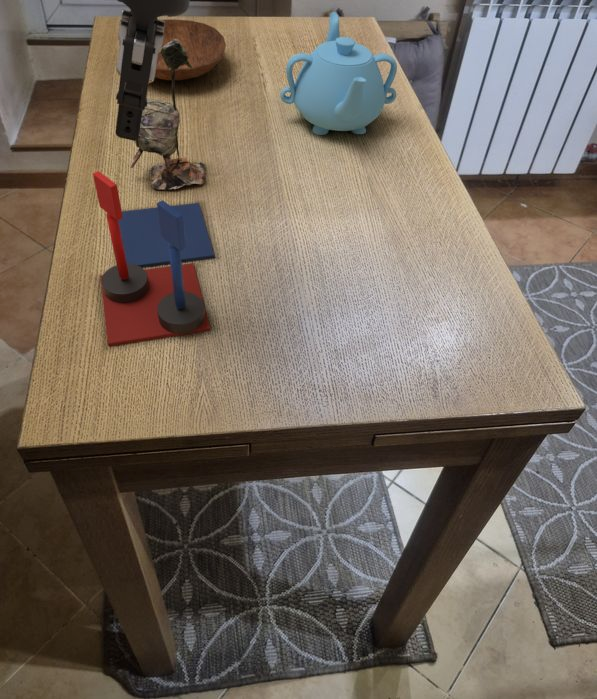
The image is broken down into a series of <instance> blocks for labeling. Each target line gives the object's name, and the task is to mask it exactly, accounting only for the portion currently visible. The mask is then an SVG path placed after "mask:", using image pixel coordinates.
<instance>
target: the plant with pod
mask: <svg viewBox="0 0 597 699" xmlns="http://www.w3.org/2000/svg"><path fill="white" fill-rule="evenodd" d="M160 52H161V55H162V57H163V58H164V61H165V63H166V65H167V66H168V68H171V80H170V81H171V99H172V103H171V102H167V101H164V100H158V99H153V98H150V97H146V98H147V107H145V109H144V110H143V112H142V119H141V125H140V132H139V138H138V139H137V140H136V141H134V143H135V146H136V148H138V150H137V151H136V153H135V155H134V156H133V160H132V162H131V163H130V166H129V167H130V169H133V168H134V167H135V165H136V164H137V162H138V161H139V159H140V157H141V156H142V155H143V152H146V153H148V154H149V153H150V154H152V153H153V154H157V155H160V156H161V157H162V158H163V160H164V161H163V163H157V164H155V165H153V166H152V165H151V167H150V169H149V172H150V177H151V179H150V184H151V185H150V186H151V188H153V189H155V190H159V191H160V190H163V191H164V190H173V189H174V190H176V189H177V190H178V189H180V188H182V187H184V186H191V185H193V184H197V185H203V184H204V183H205V180H206V177H205V176H206V175H207V174H208V173H207V172H205V171H206V169H205V167H206V164H205V163H203V162H201V161H200V162H193V163H192V162H190V161H189V160H188V158H187V157H186V156H185V157H180V151H179V150H180V149H179V140H178V138H179V136H178V133H179V126H180V124H181V120H180V119H181V118H180V111H179V109H178V107H177V102H176V91H175V90H176V89H175V88H176V87H175V83H176V80H175V70H176V69H178V68H179V67H180V66H183V64H185V65H187V66H188V67H189V68H192V66H191V65H190V63H189V62H188V59H189V57H188V54H187V52H186V50H185V49H184V48H183V45H182V44H181V43H180V42H179V40H177V39H174V40H173V41H171V42H169V43H167V44H165V45H164V46H163V47H162V48H161V51H160ZM175 153H176V154H177V158H171V156H172V155H174V154H175Z"/></svg>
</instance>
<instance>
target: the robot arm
mask: <svg viewBox="0 0 597 699" xmlns="http://www.w3.org/2000/svg"><path fill="white" fill-rule="evenodd" d="M116 1H117V2H119V3H122V4H124V5H125V6H126V7H127V8H128V9H125V8H122V9H121V16H120V19H119V26H118V31H117V32H118V33H117V39H118V42H120V46H119V45H118V46H119V48H118V52H117V61H116V72H117V74H118V75H119V83H118V90H117V93H116V95H115V100H117V102H116V104H117V105H118V107H117V108H118V109H117V116H116V122H115V123H116V124H115V135H116V137H118V138H120V139H124V140H128V141H133V142H135V141H136V140H137V139H138V138H139V132H140V125H141V119H142V112H143V110H144V109H145V107H147V98H148V96H147V95H148V90H149V84H152V83H153V82H154V81H155V72H156V65H157V58H158V53H159V52H160V51H161V48H162V44H163V37H164V26H165V21H163V20H164V19H160V18H159V17H166V16H167V17H169V18H170V17H171V18H172V17H179V16H182V15H183V14H185V13H186V12H187V11H188V10H189V7H190V4H191V3H190V2H191V0H116ZM129 9H130V10H129Z"/></svg>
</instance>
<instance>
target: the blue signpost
mask: <svg viewBox="0 0 597 699" xmlns="http://www.w3.org/2000/svg"><path fill="white" fill-rule="evenodd" d="M171 206H172V205H170V204H168V203H167V202H166V201H164V200H163V199H162V200H160V201H158V202H156V208H157V209H158V216H159V224H160V232H161V236H162V237H163V238H164V239H165V240H167V241H168V242H169V243H168V248H169V256H170V264H169V265H170V266H171V272H172V281H173V289H174V293H171V294H168V295H167V296H165V297H164V298H162V299H161V301H160V302H159V304H158V307H157V312H158V319H159V322H160V324H161V326H162V327H163V328H164V329H166V330H168V331H170V332H173V333H188V332H191V331H194V330H196V329H197V328H199V327H200V326H201V325H202V323H203V322H204V319H205V310H206V308H205V309H204V307H205V303H204V300H203V301H202V300H201V298H200V297H198V296H197V295H195V294H193V293H190V292H184V284H183V274H182V265H183V264H182V262H181V255H180V251H182V250H184V249H185V248H186V242H185V231H184V221H183V215H182V214H181V213H180V212H178V211H177V210H175V209H174V208H173V207H171Z"/></svg>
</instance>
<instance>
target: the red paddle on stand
mask: <svg viewBox="0 0 597 699" xmlns="http://www.w3.org/2000/svg"><path fill="white" fill-rule="evenodd" d="M92 178H93V181H94V182H93V183H94V186H95V190H96V191H95V192H96V195H97V196H96V197H97V200H98V204H99V208H101V209H102V210H103V211H104V212H106V220H107V226H108V230H109V231H108V232H109V235H110V239H111V240H110V241H111V245H112V249H113V254H114V258H115V264H116V265H113V266H111V267H109V268H108V269H106V270H105V271H104V273H103V274H102V275H103V276H102V280H101V279H100V283H101V282H102V286H103V291H104V294H105V295H106V297H107V298H108V299H110V300H112V301H114V302H117V303H130V302H134V301H137V300H139V299H141V298H142V297H143V296H145V294H146V293H147V291H148V289H149V282H148V276H147V273H146V271H145V270H146V269H144V267H143V268H141V267H140V266H137V265H134V264H127V262H126V257H125V252H124V247H123V241H122V236H121V231H120V226H119V221H118V220H120V219H122V218H123V215H122V205H121V199H120V195H119V194H120V193H119V189H118V185H117V184H116V183H115V182H114V181H112V180H111V179H110V178H109V177H107V176H106V175H104V173H102V172H101V171H100V170H97V171H95V172H93V173H92ZM102 286H101V287H102Z"/></svg>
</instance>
